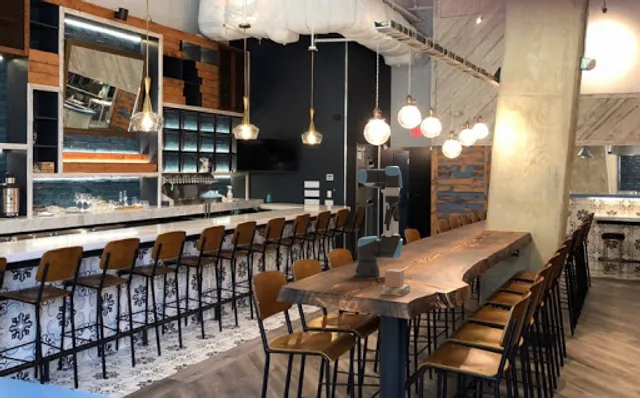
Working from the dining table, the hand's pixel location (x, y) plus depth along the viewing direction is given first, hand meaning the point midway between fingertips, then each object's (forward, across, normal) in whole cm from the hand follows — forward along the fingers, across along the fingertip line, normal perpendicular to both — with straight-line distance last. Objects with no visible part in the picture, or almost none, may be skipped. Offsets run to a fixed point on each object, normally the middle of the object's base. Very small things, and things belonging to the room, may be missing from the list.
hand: (392, 235), depth 335 cm
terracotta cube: (+24, -12, -5) cm, 28 cm away
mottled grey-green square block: (+29, -12, -6) cm, 31 cm away
